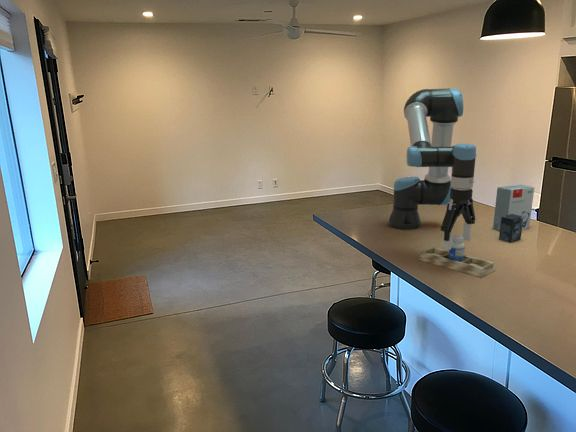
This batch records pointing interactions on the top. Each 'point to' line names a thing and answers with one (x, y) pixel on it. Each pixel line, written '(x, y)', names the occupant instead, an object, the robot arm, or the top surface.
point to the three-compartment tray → (465, 266)
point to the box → (511, 228)
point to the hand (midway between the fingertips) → (456, 244)
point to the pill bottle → (457, 249)
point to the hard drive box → (513, 204)
